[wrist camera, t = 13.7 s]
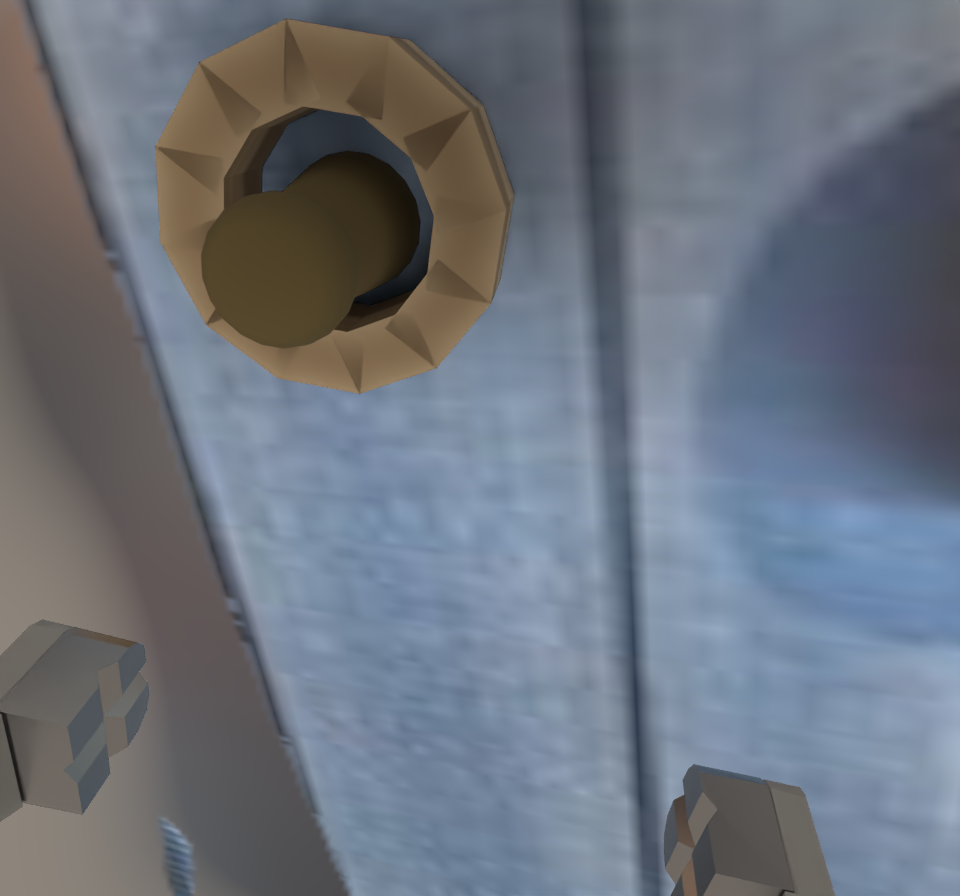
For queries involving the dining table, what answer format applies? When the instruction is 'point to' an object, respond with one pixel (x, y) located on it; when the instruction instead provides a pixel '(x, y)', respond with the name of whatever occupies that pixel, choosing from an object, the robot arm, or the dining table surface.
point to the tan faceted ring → (397, 115)
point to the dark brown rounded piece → (309, 249)
